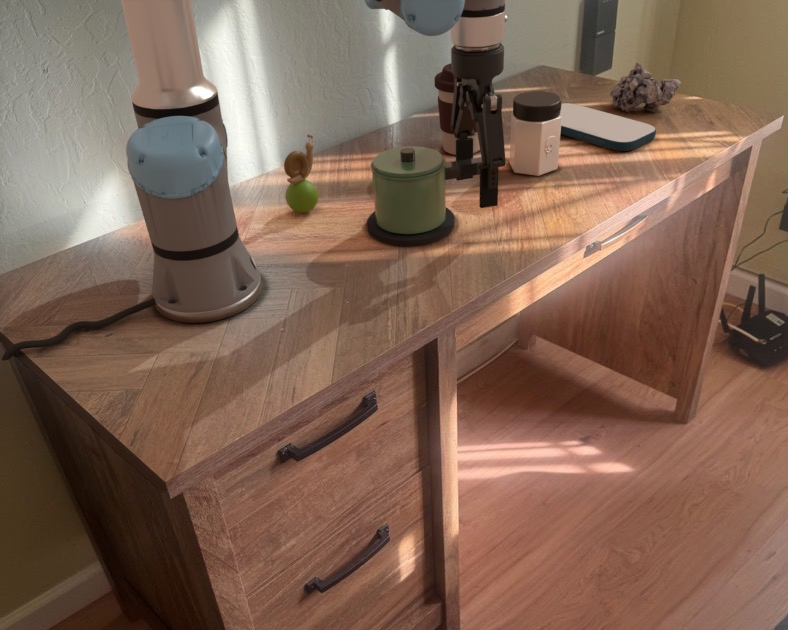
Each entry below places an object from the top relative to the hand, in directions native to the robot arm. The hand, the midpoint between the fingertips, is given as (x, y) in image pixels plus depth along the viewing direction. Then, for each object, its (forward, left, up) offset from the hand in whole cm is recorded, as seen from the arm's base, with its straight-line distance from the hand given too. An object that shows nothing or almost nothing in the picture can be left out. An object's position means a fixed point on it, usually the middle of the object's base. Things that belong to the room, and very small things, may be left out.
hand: (476, 191), depth 122 cm
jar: (+16, +14, -4) cm, 22 cm away
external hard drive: (+33, +25, -4) cm, 42 cm away
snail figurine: (-26, +12, -4) cm, 29 cm away
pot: (-7, 0, -2) cm, 8 cm away
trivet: (-11, 0, -4) cm, 12 cm away
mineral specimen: (+47, +33, -4) cm, 58 cm away
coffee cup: (+7, +27, -4) cm, 28 cm away
